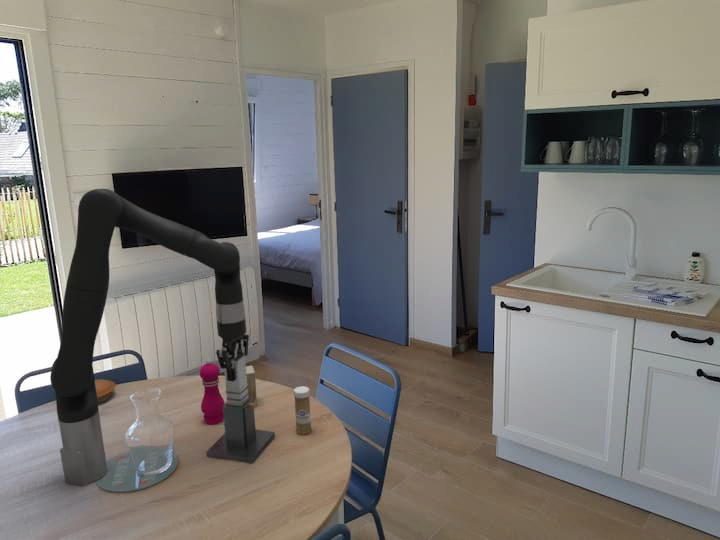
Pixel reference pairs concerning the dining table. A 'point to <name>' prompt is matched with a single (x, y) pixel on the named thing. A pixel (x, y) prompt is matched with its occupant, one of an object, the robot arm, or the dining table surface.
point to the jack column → (237, 383)
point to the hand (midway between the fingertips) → (235, 376)
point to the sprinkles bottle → (302, 410)
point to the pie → (104, 389)
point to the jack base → (240, 435)
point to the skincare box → (251, 384)
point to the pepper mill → (211, 394)
